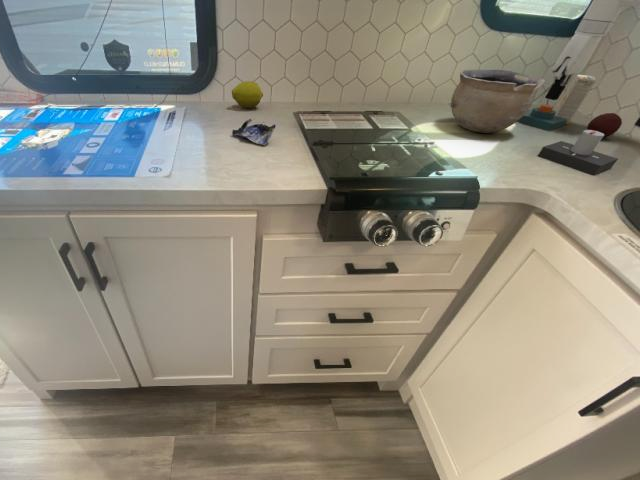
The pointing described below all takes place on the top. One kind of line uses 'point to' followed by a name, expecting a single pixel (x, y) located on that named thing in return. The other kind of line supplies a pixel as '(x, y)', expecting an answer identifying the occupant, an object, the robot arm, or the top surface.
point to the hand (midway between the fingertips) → (551, 98)
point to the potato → (605, 124)
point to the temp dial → (587, 142)
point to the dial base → (577, 158)
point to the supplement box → (574, 96)
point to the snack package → (255, 132)
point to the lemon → (247, 94)
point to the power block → (542, 119)
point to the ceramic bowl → (492, 99)
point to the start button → (545, 108)
